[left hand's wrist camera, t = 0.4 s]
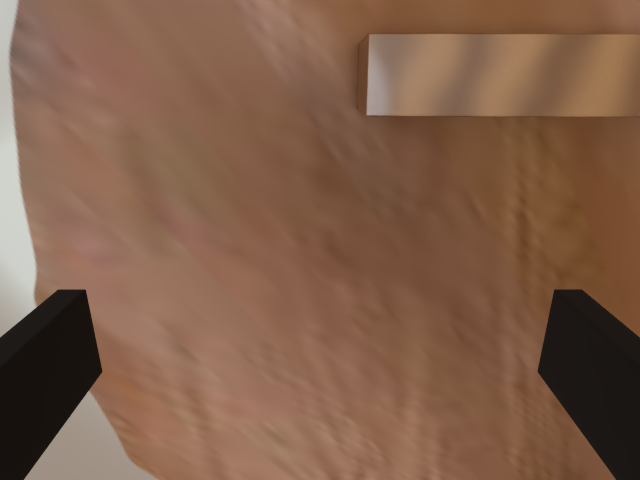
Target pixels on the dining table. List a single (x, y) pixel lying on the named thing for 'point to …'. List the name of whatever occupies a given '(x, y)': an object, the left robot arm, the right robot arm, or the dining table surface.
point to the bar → (499, 75)
